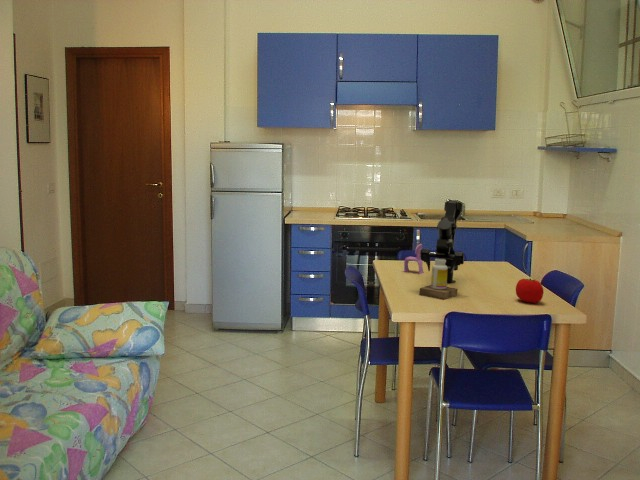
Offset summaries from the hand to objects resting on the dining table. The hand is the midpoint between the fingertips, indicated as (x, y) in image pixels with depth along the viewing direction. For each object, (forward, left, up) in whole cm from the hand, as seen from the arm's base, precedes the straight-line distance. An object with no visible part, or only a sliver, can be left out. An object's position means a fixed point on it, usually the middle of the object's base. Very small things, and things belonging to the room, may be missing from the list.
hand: (439, 272), depth 308 cm
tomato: (-21, +32, -11) cm, 40 cm away
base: (-1, -1, -11) cm, 11 cm away
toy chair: (-39, -36, -11) cm, 54 cm away
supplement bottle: (-1, -1, -8) cm, 8 cm away
